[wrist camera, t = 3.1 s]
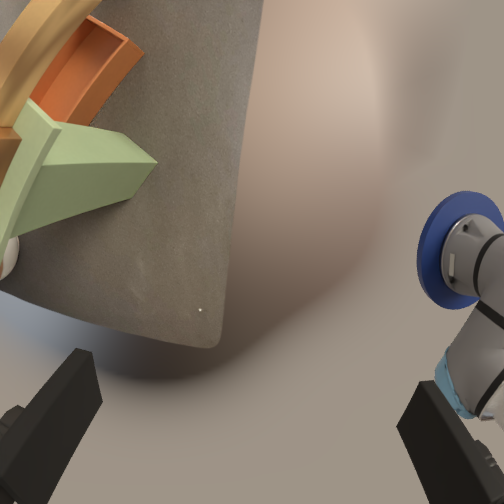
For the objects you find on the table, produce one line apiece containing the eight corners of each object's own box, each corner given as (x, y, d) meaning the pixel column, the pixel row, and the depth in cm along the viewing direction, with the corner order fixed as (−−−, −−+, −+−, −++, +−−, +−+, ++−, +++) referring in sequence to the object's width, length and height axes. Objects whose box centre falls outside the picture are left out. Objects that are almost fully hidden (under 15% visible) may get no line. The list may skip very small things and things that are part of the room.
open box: (98, 24, 36) (80, 10, 29) (144, 53, 38) (129, 39, 32) (36, 110, 40) (13, 106, 33) (75, 146, 42) (51, 145, 36)
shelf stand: (132, 112, 41) (-9, 66, 12) (177, 148, 43) (54, 127, 14) (90, 172, 43) (-59, 194, 15) (131, 209, 45) (-8, 270, 16)
